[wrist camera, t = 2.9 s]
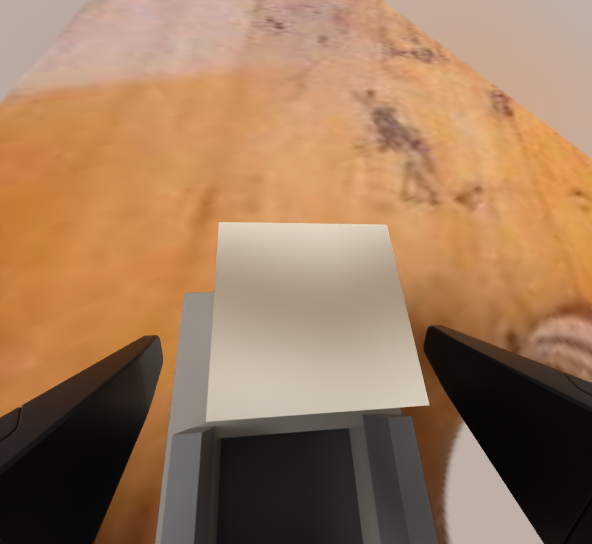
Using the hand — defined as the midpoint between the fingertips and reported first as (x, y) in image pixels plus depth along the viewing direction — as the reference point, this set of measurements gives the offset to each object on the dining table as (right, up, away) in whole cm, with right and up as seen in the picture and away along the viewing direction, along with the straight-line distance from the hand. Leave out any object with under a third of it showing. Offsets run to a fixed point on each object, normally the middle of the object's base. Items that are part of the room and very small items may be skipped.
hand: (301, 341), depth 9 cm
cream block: (-1, -2, +5) cm, 6 cm away
